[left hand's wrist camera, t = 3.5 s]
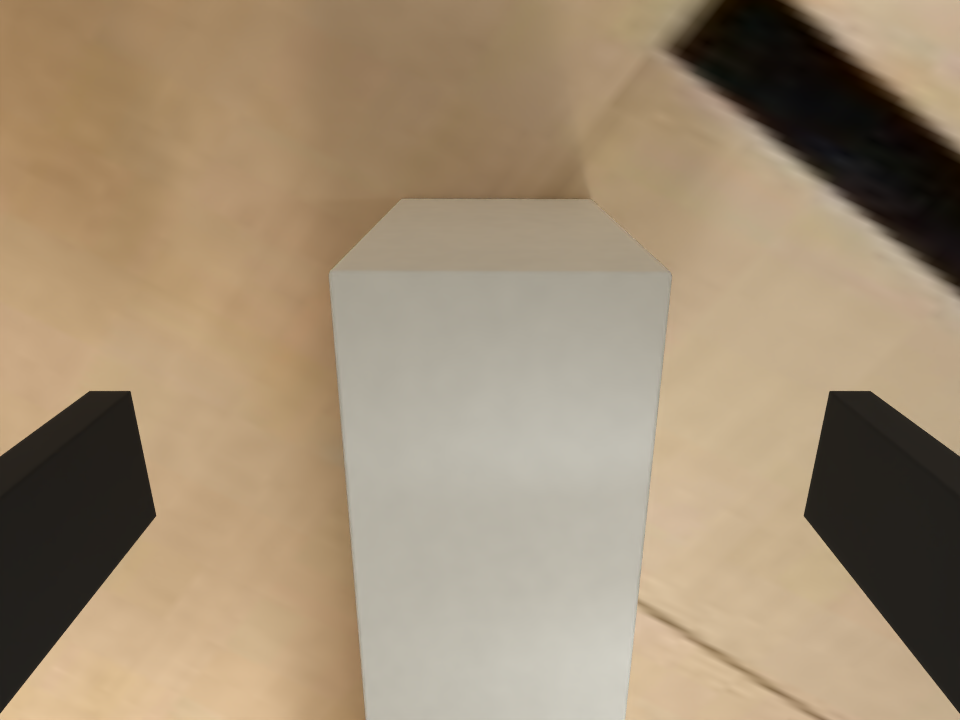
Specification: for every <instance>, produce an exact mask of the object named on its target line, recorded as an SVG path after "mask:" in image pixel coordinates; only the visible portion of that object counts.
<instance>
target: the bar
mask: <svg viewBox="0 0 960 720" xmlns="http://www.w3.org/2000/svg"><path fill="white" fill-rule="evenodd" d="M671 282H672V275H671V272H670V271H669V270H668V269H667V268H666V267H664V266H663V265H662V264H661V263H660V262H659V261H658V260H657V259H656V258H655V257H654V256H652V255H651V254H650V253H649V252H648V251H647V250H646V249H645V248H644V247H643V246H642V245H641V244H639V243H638V242H637V241H636V240H635V239H634V238H633V237H632V236H631V235H630V234H629V233H627V232H626V231H625V230H624V229H623V228H622V227H621V226H620V225H619V224H618V223H617V222H615V221H614V220H613V219H612V218H611V217H610V216H609V215H608V214H607V213H606V212H605V211H604V210H602V209H601V208H600V207H599V206H598V205H597V204H596V203H595V202H594V201H593V200H591V199H401V200H400V201H399V202H398V203H397V204H396V205H395V206H394V207H393V208H392V209H391V210H390V211H389V212H388V213H387V214H386V215H385V216H384V217H383V218H382V219H381V220H380V221H379V222H378V223H377V224H376V225H375V226H374V227H373V228H372V229H371V230H370V231H369V232H368V233H367V234H366V235H365V236H364V237H363V238H362V239H361V240H360V241H359V242H358V243H357V244H356V245H355V246H354V247H353V248H352V249H351V250H350V251H349V252H348V253H347V254H346V255H345V256H344V257H343V258H342V259H341V260H340V261H339V262H338V263H337V264H336V265H335V266H334V267H333V268H332V269H331V270H330V272H329V286H330V298H331V310H332V322H333V334H334V346H335V358H336V370H337V382H338V394H339V406H340V418H341V430H342V442H343V454H344V466H345V478H346V490H347V502H348V514H349V526H350V538H351V550H352V562H353V574H354V586H355V598H356V610H357V622H358V634H359V646H360V658H361V670H362V682H363V694H364V706H365V718H366V720H625V716H626V707H627V697H628V688H629V678H630V669H631V659H632V650H633V641H634V631H635V622H636V612H637V603H638V593H639V584H640V574H641V565H642V556H643V546H644V537H645V527H646V518H647V508H648V499H649V489H650V480H651V471H652V461H653V452H654V442H655V433H656V423H657V414H658V404H659V395H660V386H661V376H662V367H663V357H664V348H665V338H666V329H667V319H668V310H669V301H670V291H671Z"/></svg>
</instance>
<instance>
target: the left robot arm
mask: <svg viewBox="0 0 960 720" xmlns="http://www.w3.org/2000/svg"><path fill="white" fill-rule="evenodd" d="M155 517H156V512H155V507H154V503H153V498H152V493H151V488H150V483H149V479H148V474H147V469H146V464H145V459H144V454H143V450H142V445H141V440H140V435H139V430H138V425H137V421H136V416H135V411H134V406H133V401H132V397H131V392H130V391H89V392H88V393H86V394H85V395H84V396H82V397H81V398H80V399H78V400H77V401H75V402H74V403H73V404H71V405H70V406H69V407H67V408H66V409H65V410H63V411H62V412H60V413H59V414H58V415H56V416H55V417H54V418H52V419H51V420H50V421H48V422H47V423H45V424H44V425H43V426H41V427H40V428H39V429H37V430H36V431H34V432H33V433H32V434H30V435H29V436H28V437H26V438H25V439H24V440H22V441H21V442H19V443H18V444H17V445H15V446H14V447H13V448H11V449H10V450H9V451H7V452H6V453H4V454H3V455H2V456H0V713H1V712H2V711H3V709H4V708H5V707H6V706H7V704H8V703H9V702H10V700H11V699H12V698H13V697H14V695H15V694H16V693H17V692H18V690H19V689H20V688H21V687H22V685H23V684H24V683H25V681H26V680H27V679H28V678H29V676H30V675H31V674H32V673H33V671H34V670H35V669H36V668H37V666H38V665H39V664H40V662H41V661H42V660H43V659H44V657H45V656H46V655H47V654H48V652H49V651H50V650H51V649H52V647H53V646H54V645H55V643H56V642H57V641H58V640H59V638H60V637H61V636H62V635H63V633H64V632H65V631H66V630H67V628H68V627H69V626H70V624H71V623H72V622H73V621H74V619H75V618H76V617H77V616H78V614H79V613H80V612H81V611H82V609H83V608H84V607H85V605H86V604H87V603H88V602H89V600H90V599H91V598H92V597H93V595H94V594H95V593H96V592H97V590H98V589H99V588H100V586H101V585H102V584H103V583H104V581H105V580H106V579H107V578H108V576H109V575H110V574H111V573H112V571H113V570H114V569H115V567H116V566H117V565H118V564H119V562H120V561H121V560H122V559H123V557H124V556H125V555H126V553H127V552H128V551H129V550H130V548H131V547H132V546H133V545H134V543H135V542H136V541H137V540H138V538H139V537H140V536H141V534H142V533H143V532H144V531H145V529H146V528H147V527H148V526H149V524H150V523H151V522H152V521H153V519H154V518H155ZM804 517H805V518H806V519H807V521H808V522H809V523H810V524H811V526H812V527H813V528H814V529H815V531H816V532H817V533H818V534H819V536H820V537H821V538H822V540H823V541H824V542H825V543H826V545H827V546H828V547H829V548H830V550H831V551H832V552H833V553H834V555H835V556H836V557H837V559H838V560H839V561H840V562H841V564H842V565H843V566H844V567H845V569H846V570H847V571H848V573H849V574H850V575H851V576H852V578H853V579H854V580H855V581H856V583H857V584H858V585H859V586H860V588H861V589H862V590H863V592H864V593H865V594H866V595H867V597H868V598H869V599H870V600H871V602H872V603H873V604H874V605H875V607H876V608H877V609H878V611H879V612H880V613H881V614H882V616H883V617H884V618H885V619H886V621H887V622H888V623H889V624H890V626H891V627H892V628H893V630H894V631H895V632H896V633H897V635H898V636H899V637H900V638H901V640H902V641H903V642H904V643H905V645H906V646H907V647H908V649H909V650H910V651H911V652H912V654H913V655H914V656H915V657H916V659H917V660H918V661H919V662H920V664H921V665H922V666H923V668H924V669H925V670H926V671H927V673H928V674H929V675H930V676H931V678H932V679H933V680H934V681H935V683H936V684H937V685H938V687H939V688H940V689H941V690H942V692H943V693H944V694H945V695H946V697H947V698H948V699H949V700H950V702H951V703H952V704H953V706H954V707H955V708H956V709H957V711H958V712H959V713H960V456H958V455H957V454H956V453H954V452H953V451H951V450H950V449H949V448H947V447H946V446H945V445H943V444H942V443H941V442H939V441H938V440H936V439H935V438H934V437H932V436H931V435H930V434H928V433H927V432H926V431H924V430H923V429H921V428H920V427H919V426H917V425H916V424H915V423H913V422H912V421H910V420H909V419H908V418H906V417H905V416H904V415H902V414H901V413H900V412H898V411H897V410H895V409H894V408H893V407H891V406H890V405H889V404H887V403H886V402H885V401H883V400H882V399H880V398H879V397H878V396H876V395H875V394H874V393H872V392H871V391H830V392H829V397H828V401H827V406H826V411H825V416H824V421H823V425H822V430H821V435H820V440H819V445H818V450H817V454H816V459H815V464H814V469H813V474H812V479H811V483H810V488H809V493H808V498H807V503H806V507H805V512H804Z"/></svg>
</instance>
